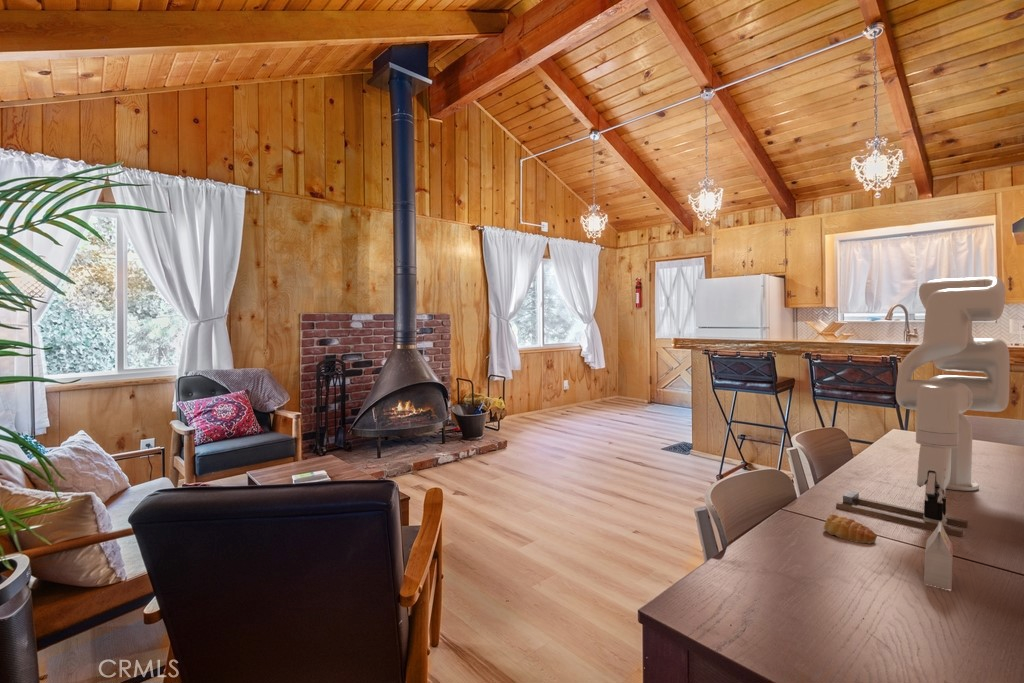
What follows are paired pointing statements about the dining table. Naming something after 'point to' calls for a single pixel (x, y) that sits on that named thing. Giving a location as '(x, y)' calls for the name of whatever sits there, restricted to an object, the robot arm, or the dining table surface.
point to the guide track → (901, 518)
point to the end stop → (851, 498)
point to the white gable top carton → (938, 559)
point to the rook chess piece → (937, 520)
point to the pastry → (849, 529)
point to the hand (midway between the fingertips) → (934, 515)
